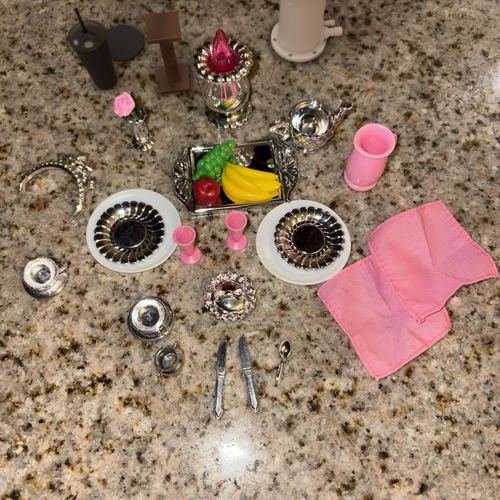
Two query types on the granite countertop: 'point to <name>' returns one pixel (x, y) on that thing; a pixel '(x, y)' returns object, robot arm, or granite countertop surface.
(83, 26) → the drinking cup
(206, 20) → the granite countertop surface
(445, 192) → the granite countertop surface
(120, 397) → the granite countertop surface
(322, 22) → the robot arm
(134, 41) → the coaster
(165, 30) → the stand
